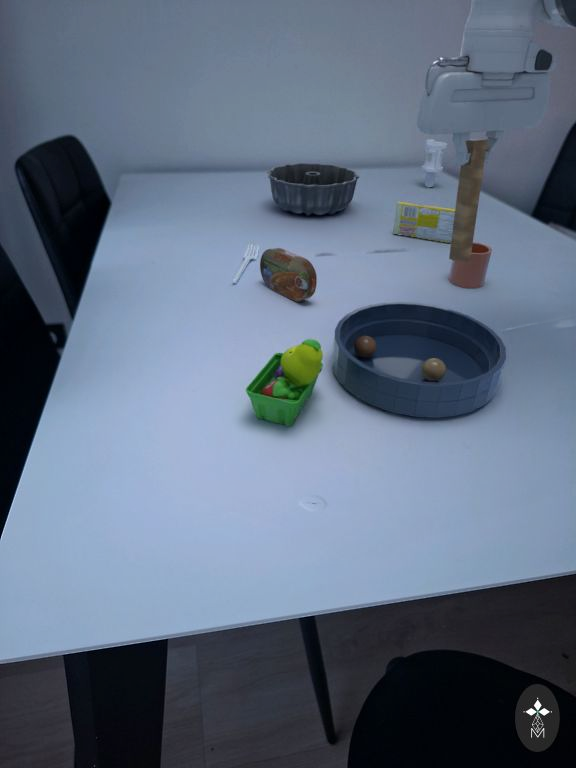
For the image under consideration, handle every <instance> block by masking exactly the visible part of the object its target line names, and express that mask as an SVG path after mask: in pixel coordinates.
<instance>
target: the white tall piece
mask: <svg viewBox="0 0 576 768" xmlns="http://www.w3.org/2000/svg"><path fill="white" fill-rule="evenodd" d="M447 148H448V143H446V142H443V141H436V139H432V138H431V139H425V143H424V152H425V157H424V163H423V164H422V165H421V168H420V169H421V171H423V172H426V173H425V174H426V175H425V179H424V186H425V185H426V186H434V187H435V181H436V175H437V173H442V172H443V169H444V167H443V166H442V164H443V163H442V162H443V157H444V152H443V151H442V150H446V149H447Z"/></svg>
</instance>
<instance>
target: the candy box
mask: <svg viewBox="0 0 576 768" xmlns="http://www.w3.org/2000/svg"><path fill="white" fill-rule="evenodd" d="M395 207H396V208H395V215H394V223H393V229H392V234H393V233H395V234H401V235H405V236H404V237H406V236H411V237H410V238H413V237H417V238H416V239H419V238H422V239H421V240H425V239H428V240H427V241H431V240H434V241H433V242H438V241H440V242H439V243H444V242H445V244H451V240H452V232H453V224H454V216H455V208H449V207H440V206H433V205H426V204H420V203H419V204H417V203H411V202H403V201H398V202H396V206H395Z"/></svg>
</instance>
